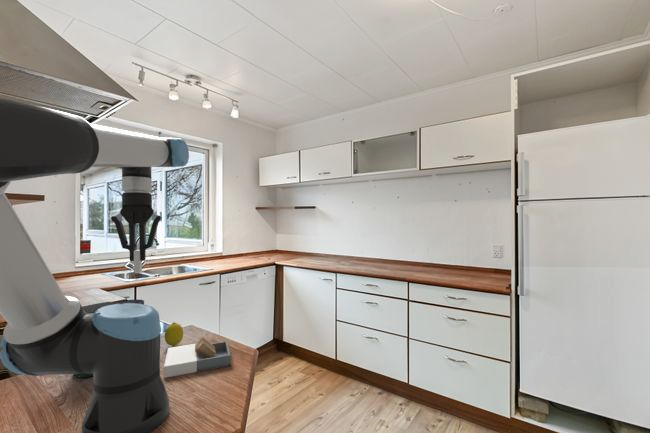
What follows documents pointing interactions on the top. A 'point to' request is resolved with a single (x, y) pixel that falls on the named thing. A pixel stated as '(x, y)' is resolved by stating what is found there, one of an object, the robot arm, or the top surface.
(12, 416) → the top surface
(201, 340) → the brown wooden block
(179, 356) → the board
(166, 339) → the lemon
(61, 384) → the top surface
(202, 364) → the tray
